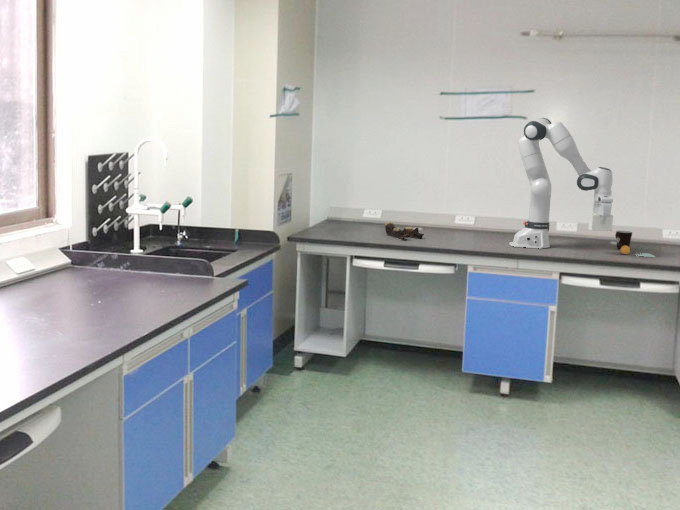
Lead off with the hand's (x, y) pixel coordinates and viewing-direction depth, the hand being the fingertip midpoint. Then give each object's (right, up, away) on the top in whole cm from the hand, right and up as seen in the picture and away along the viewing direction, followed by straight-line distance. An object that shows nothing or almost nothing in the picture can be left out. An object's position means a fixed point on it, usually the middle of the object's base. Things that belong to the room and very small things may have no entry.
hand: (600, 223), depth 429 cm
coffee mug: (+20, -14, +22) cm, 33 cm away
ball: (+14, -15, +2) cm, 21 cm away
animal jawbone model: (-103, -7, +40) cm, 111 cm away
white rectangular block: (0, -4, +1) cm, 4 cm away
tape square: (+24, -17, +2) cm, 30 cm away
